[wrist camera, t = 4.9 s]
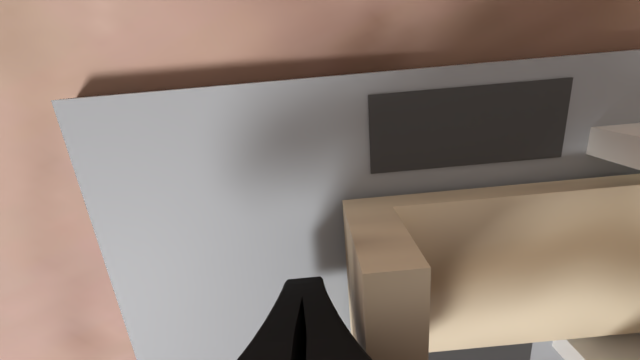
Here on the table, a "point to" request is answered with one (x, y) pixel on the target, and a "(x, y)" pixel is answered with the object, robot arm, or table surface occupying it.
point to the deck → (312, 179)
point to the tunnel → (636, 152)
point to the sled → (493, 266)
